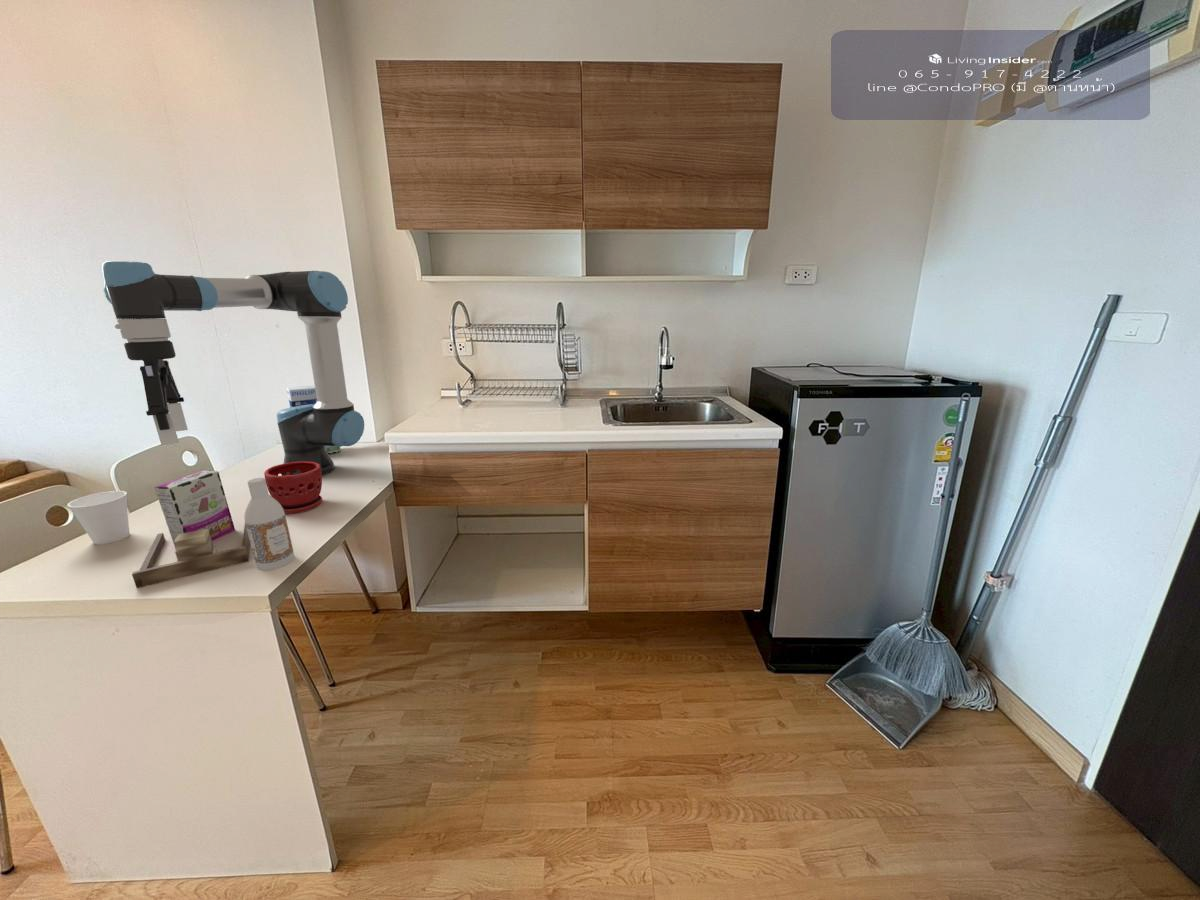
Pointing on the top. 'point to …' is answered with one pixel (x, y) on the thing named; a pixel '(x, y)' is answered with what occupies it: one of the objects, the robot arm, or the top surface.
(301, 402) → the string lights box
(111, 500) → the cup
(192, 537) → the offcut top
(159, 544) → the wooden frame
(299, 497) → the plant pot
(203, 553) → the offcut mid
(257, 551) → the bath foam
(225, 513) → the candy bar box
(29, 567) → the top surface
